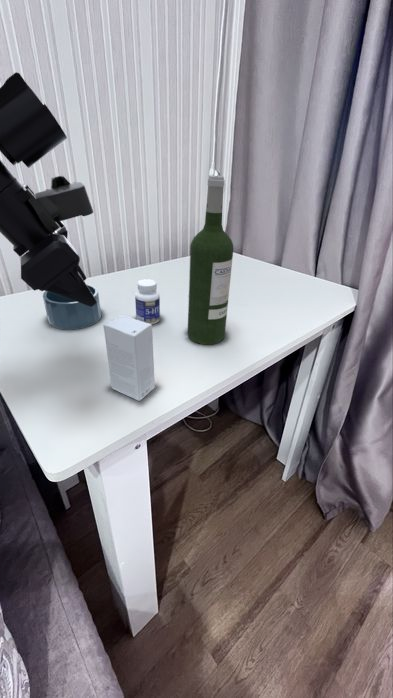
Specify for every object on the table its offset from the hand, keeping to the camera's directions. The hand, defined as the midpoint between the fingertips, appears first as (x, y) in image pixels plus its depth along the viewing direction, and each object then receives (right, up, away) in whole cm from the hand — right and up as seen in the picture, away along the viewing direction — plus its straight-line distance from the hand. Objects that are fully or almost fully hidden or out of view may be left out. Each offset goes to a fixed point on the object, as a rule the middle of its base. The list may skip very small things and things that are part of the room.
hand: (88, 291), depth 48 cm
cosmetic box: (+5, -15, +7) cm, 17 cm away
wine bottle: (+18, -6, +22) cm, 29 cm away
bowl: (-12, -1, +27) cm, 29 cm away
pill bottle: (+5, -2, +27) cm, 28 cm away
